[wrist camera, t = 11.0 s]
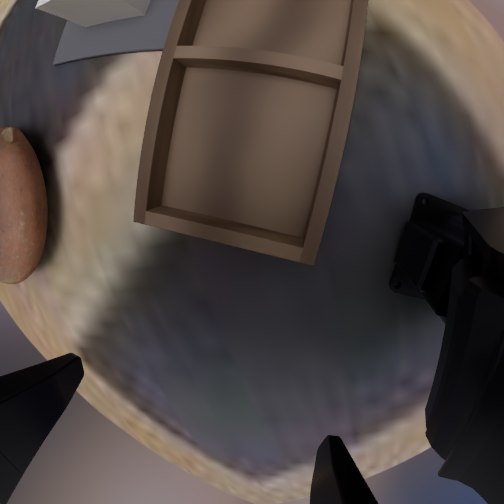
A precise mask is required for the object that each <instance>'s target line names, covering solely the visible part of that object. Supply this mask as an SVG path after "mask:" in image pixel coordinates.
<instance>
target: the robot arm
mask: <svg viewBox="0 0 504 504" xmlns="http://www.w3.org/2000/svg"><path fill="white" fill-rule="evenodd" d="M424 198H426V199H427V202H426V204H425V205H423V203H422V200H423V199H424ZM395 263H396V265H395V268H394V271H393V274H392V276H391V279H390V282H389V286H390V288H391V289H392V291H394V292H396V293H400V294H405V295H409V296H413V297H417V298H421V299H425V300H426V301H427V302H428V304H429V305H430V306H431V308H432V309H433V310H434V312H435V313H436V314H437V315H439V316H440V317H441V319H442V320H443V322H444V323H445V324H446V325H445V331H444V336H443V342H442V347H441V352H440V356H439V361H438V365H437V369H436V373H435V377H434V381H433V385H432V388H431V392H430V395H429V399H428V402H427V405H426V408H425V415H426V428H427V430H426V437H427V439H428V441H429V443H430V445H431V447H432V448H433V449H434V450H435V451H436V452H437V453H438V454H439V455H440V457H442V458H443V459H445V462H444V463H443V465H442V467H441V468H440V470H439V471H438V475H439V476H440V477H444V478H448V479H452V480H457V481H459V482H462V483H463V484H465V485H467V486H469V487H471V488H473V489H474V490H475V491H476V492H477V493H479V495H480V496H481V497H482V498H483V499H484V500H485V501H486V502H487V503H488V504H504V207H500V208H492V209H483V210H475V211H468V210H466V209H464V208H461V207H459V206H457V205H454V204H452V203H450V202H447V201H445V200H442V199H440V198H437V197H435V196H432V195H430V194H427V193H420V194H419V195H418V196H417V199H416V202H415V206H414V210H413V213H412V217H411V220H410V221H409V222H408V223H406V226H405V230H404V233H403V236H402V239H401V242H400V245H399V248H398V251H397V254H396V257H395ZM396 282H400V283H399V285H398V286H394V284H395V283H396ZM83 376H84V369H83V365H82V361H81V358H80V357H79V356H77V355H75V354H73V353H68V354H66V355H63V356H60V357H57V358H54V359H51V360H48V361H45V362H43V363H40V364H37V365H34V366H31V367H28V368H25V369H22V370H19V371H16V372H13V373H9V374H6V375H3V376H0V504H7V502H8V500H9V498H10V497H11V494H12V493H13V491H14V489H15V488H16V486H17V484H18V482H19V481H20V479H21V477H22V476H23V474H24V472H25V470H26V469H27V467H28V466H29V464H30V462H31V461H32V459H33V457H34V456H35V454H36V453H37V451H38V450H39V448H40V446H41V445H42V443H43V442H44V440H45V439H46V437H47V436H48V434H49V433H50V431H51V430H52V428H53V427H54V425H55V424H56V422H57V421H58V419H59V418H60V416H61V415H62V413H63V412H64V410H65V409H66V407H67V406H68V404H69V402H70V400H71V399H72V397H73V395H74V393H75V391H76V389H77V387H78V386H79V384H80V382H81V380H82V378H83ZM310 504H378V502H377V500H376V499H375V497H374V495H373V494H372V492H371V490H370V488H369V487H368V485H367V483H366V482H365V480H364V478H363V476H362V475H361V473H360V471H359V469H358V468H357V466H356V464H355V462H354V461H353V459H352V457H351V455H350V454H349V452H348V450H347V448H346V447H345V445H344V443H343V441H342V439H341V438H340V437H339V436H333V435H328V436H327V437H326V438H325V439H324V441H323V442H322V443H321V445H320V446H319V448H318V450H317V456H316V462H315V468H314V473H313V479H312V484H311V492H310Z"/></svg>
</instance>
